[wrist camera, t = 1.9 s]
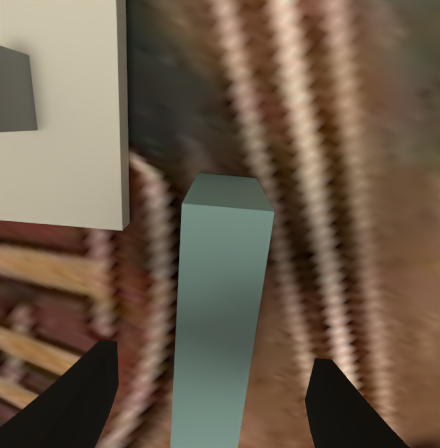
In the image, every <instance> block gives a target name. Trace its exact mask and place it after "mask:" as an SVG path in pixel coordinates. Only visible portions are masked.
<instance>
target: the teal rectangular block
mask: <svg viewBox="0 0 440 448" xmlns="http://www.w3.org/2000/svg"><path fill="white" fill-rule="evenodd" d="M274 213H275V212H274V210H273V208H272V206H271V204H270V202H269V201H268V199H267V197H266V195H265V193H264V191H263V190H262V188H261V186H260V184H259V182H258V180H257V178H247V177H236V176H225V175H214V174H203V173H198V174H197V176H196V178H195V180H194V182H193V183H192V185H191V187H190V189H189V191H188V193H187V195H186V197H185V199H184V201H183V203H182V214H181V235H180V257H179V278H178V299H177V320H176V341H175V363H174V384H173V405H172V426H171V448H238V442H239V435H240V429H241V422H242V416H243V410H244V403H245V397H246V391H247V384H248V378H249V372H250V365H251V359H252V353H253V346H254V340H255V333H256V327H257V321H258V314H259V308H260V302H261V295H262V289H263V283H264V276H265V270H266V264H267V257H268V251H269V244H270V238H271V232H272V225H273V219H274Z"/></svg>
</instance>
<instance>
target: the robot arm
mask: <svg viewBox="0 0 440 448" xmlns="http://www.w3.org/2000/svg"><path fill="white" fill-rule="evenodd" d="M118 385H119V380H118V355H117V341H106V340H100V341H98V342H97V343H96V344H95V345H94V346H93V347H92V348H91V349H90V350H89V351H88V352H87V353H85V354H84V355H83V356H82V357H81V358H80V359H79V360H78V361H77V362H76V363H75V364H74V365H73V366H72V367H71V368H70V369H69V370H67V371H66V372H65V373H64V374H63V375H62V376H61V377H60V378H59V379H57V380H56V381H55V382H54V383H53V384H52V385H51V386H50V387H49V388H47V389H46V390H45V391H44V392H43V393H42V394H40V395H39V396H38V397H37V398H36V399H34V400H33V401H32V402H31V403H30V404H28V405H27V406H26V407H25V408H24V409H22V410H21V411H20V412H19V413H17V414H16V415H15V416H14V417H12V418H11V419H10V420H9V421H7V422H6V423H5V424H3V425H2V426H1V427H0V448H95V446H96V443H97V441H98V439H99V437H100V434H101V432H102V430H103V427H104V425H105V423H106V421H107V418H108V416H109V413H110V410H111V407H112V404H113V401H114V398H115V395H116V391H117V388H118ZM305 404H306V410H307V415H308V421H309V426H310V431H311V435H312V438H313V442H314V445H315V448H409V447H408V446H407V445H406V444H405V442H404V441H403V440H402V439H401V438H400V437H399V436H398V435H397V434H396V433H395V432H394V431H393V430H392V429H391V428H390V427H389V426H388V425H387V423H386V422H385V421H384V420H383V419H382V418H381V417H380V416H379V415H378V413H377V412H376V411H375V410H374V409H373V408H372V407H371V406H370V404H369V403H368V402H367V401H366V400H365V399H364V397H363V396H362V395H361V394H360V393H359V392H358V390H357V389H356V388H355V387H354V386H353V384H352V383H351V382H350V381H349V380H348V378H347V377H346V376H345V375H344V374H343V372H342V371H341V370H340V369H339V368H338V366H337V365H336V364H335V363H334V362H333V360H330V359H318V358H315V361H314V365H313V369H312V373H311V377H310V381H309V385H308V389H307V393H306V398H305Z"/></svg>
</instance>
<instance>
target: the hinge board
mask: <svg viewBox="0 0 440 448" xmlns="http://www.w3.org/2000/svg"><path fill="white" fill-rule="evenodd" d="M0 220H5V221H17V222H29V223H40V224H52V225H63V226H75V227H87V228H98V229H110V230H123V229H124V228H125V227H126V226H127V225H128V224H129V223H130V211H129V156H128V101H127V45H126V0H0Z"/></svg>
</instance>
